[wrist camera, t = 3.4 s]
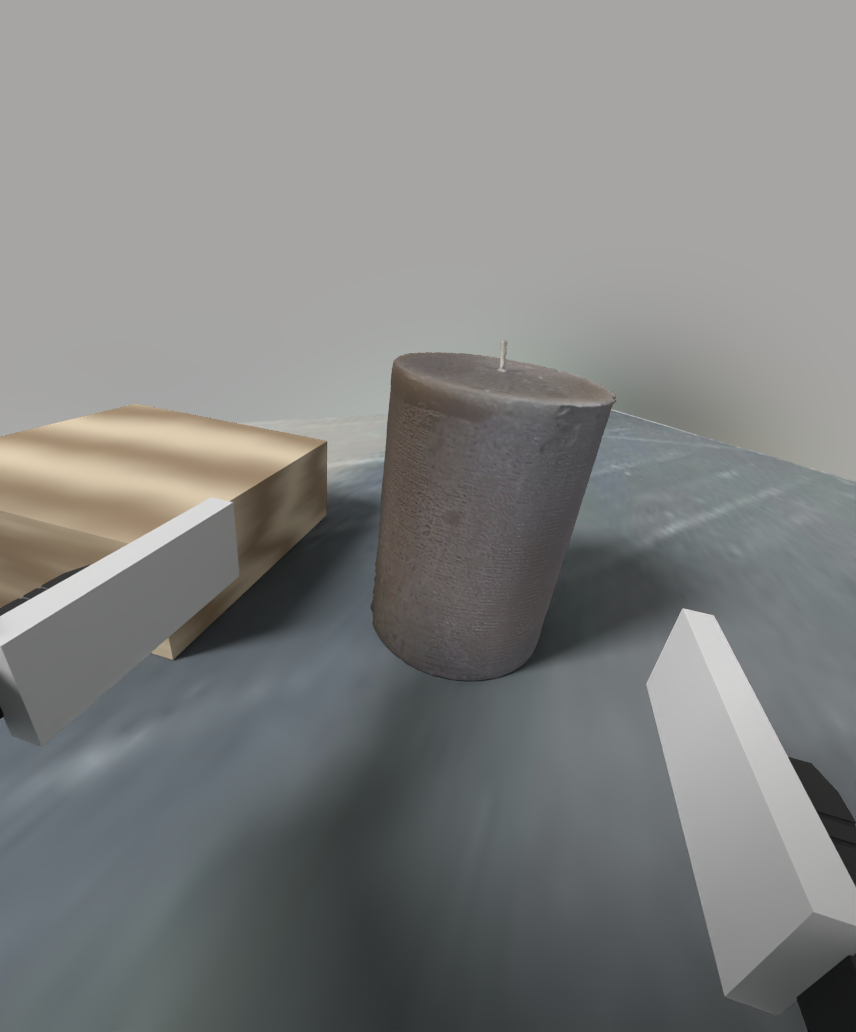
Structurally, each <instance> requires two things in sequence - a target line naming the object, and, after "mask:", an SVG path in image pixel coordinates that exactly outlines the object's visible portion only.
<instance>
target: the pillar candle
mask: <svg viewBox="0 0 856 1032" xmlns="http://www.w3.org/2000/svg"><path fill="white" fill-rule="evenodd" d="M506 346H507V340H502V341H501V348H500V349H501V354H500V358H495V357H489V356H481V355H472V354H462V353H460V354H456V353H428V352H427V353H410V354H405V355H403V356H399V357H398V358H397V359H395V360H394V363H393V368H392V375H391V393H390V403H389V412H388V422H387V439H386V451H385V462H384V474H383V484H382V493H381V520H380V524H379V525H380V531H379V543H378V550H377V558H376V570H375V571H376V576H375V586H374V590H373V593H374V597H373V602H372V604H371V609H372V612H373V626H374V629H375V630H376V632H377V634H378V636H379V638H380V639H381V641H382V642H383V643H384V644H385V646H386V647H387V648H388V649H389V650H390V651H391V652H392V653H393V654H395V655H396V656H398V657H399V658H401V659H402V660H403V661H404V662H405V663H407V664H408V665H410V666H412V667H414V668H416V669H418V670H420V671H422V672H426V673H428V674H431V675H433V676H439V677H444V678H447V679H452V680H463V681H477V680H486V679H491V678H498V677H500V676H503V675H505V674H508V673H511V672H513V671H514V670H516V669H518V668H520V667H521V666H522V665H523V664H525V662H527V660H528V659H529V658H530V657H531V655H532V654H533V652H534V650H535V648H536V646H537V643H538V640H539V637H540V633H541V629H542V626H543V622H544V619H545V616H546V614H547V611H548V608H549V605H550V601H551V598H552V595H553V592H554V589H555V586H556V583H557V580H558V577H559V575H560V571H561V567H562V564H563V561H564V557H565V554H566V551H567V548H568V545H569V542H570V539H571V535H572V532H573V529H574V526H575V522H576V519H577V516H578V513H579V509H580V506H581V503H582V499H583V496H584V493H585V490H586V487H587V484H588V481H589V478H590V475H591V471H592V468H593V465H594V462H595V459H596V456H597V452H598V449H599V446H600V442H601V439H602V435H603V433H604V430H605V427H606V424H607V421H608V418H609V414H610V411H611V408H612V405H613V404H614V403H615V402H616V400H615V398H616V395H614V394H613V393H612V392H610V391H609V390H607V389H606V388H605V387H603V386H601V385H599V384H597V383H595V382H592V381H590V380H587V379H586V378H583V377H581V376H578V375H575V374H571V373H567V372H562V371H558V370H555V369H551V368H546V367H542V366H538V365H533V364H528V363H522V362H517V361H512V360H506V359H505V356H506Z"/></svg>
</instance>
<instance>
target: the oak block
mask: <svg viewBox="0 0 856 1032" xmlns="http://www.w3.org/2000/svg"><path fill="white" fill-rule="evenodd" d="M211 497H213V498H217V499H221V500H225V501H230V502H233V506H234V518H235V529H236V541H237V553H238V565H239V577H238V578H236V579H235V580H234V581H233V582H232V583H231V584H230V585H228V586H227V587H226V588H225V589H224V590H223V591H222V592H220V593H219V594H218V595H217V596H216V597H215V598H213V599H212V600H211V601H210V602H209V603H208V604H207V605H205V606H204V607H203V608H202V609H201V610H200V611H198V612H197V613H196V614H195V615H194V616H193V617H192V618H190V619H189V620H188V621H187V622H186V623H185V624H183V625H182V626H181V627H180V628H179V629H178V630H177V631H175V632H174V633H173V634H172V635H171V636H170V637H168V638H167V639H166V640H165V641H164V642H163V643H162V644H160V645H159V646H158V647H157V648H156V649H155V650H153V651H152V652H151V653H152V654H155V655H159V656H162V657H165V658H168V659H172V660H174V659H175V658H176V657H177V656H178V655H179V654H180V653H181V652H182V651H183V650H184V649H185V648H186V647H187V646H188V645H189V644H191V643H192V642H193V641H194V640H195V639H196V638H197V637H198V636H199V635H200V634H201V633H202V632H203V631H204V630H205V629H206V628H207V627H209V626H210V625H211V624H212V623H213V622H214V621H215V620H216V619H217V618H218V617H219V616H220V615H221V614H222V613H223V612H224V611H226V610H227V609H228V608H229V607H230V606H231V605H232V604H233V603H234V602H235V601H236V600H237V599H238V598H239V597H240V596H241V595H242V594H244V593H245V592H246V591H247V590H248V589H249V588H250V587H251V586H252V585H253V584H254V583H255V582H256V581H257V580H258V579H259V578H261V577H262V576H263V575H264V574H265V573H266V572H267V571H268V570H269V569H270V568H271V567H272V566H273V565H274V564H275V563H276V562H277V561H279V560H280V559H281V558H282V557H283V556H284V555H285V554H286V553H287V552H288V551H289V550H290V549H291V548H292V547H293V546H294V545H296V544H297V543H298V542H299V541H300V540H301V539H302V538H303V537H304V536H305V535H306V534H307V533H308V532H309V531H310V530H311V529H312V528H314V527H315V526H316V525H317V524H318V523H319V522H320V521H321V520H322V519H323V518H324V517H325V516H326V507H327V441H324V440H319V439H314V438H309V437H304V436H299V435H294V434H289V433H283V432H278V431H273V430H268V429H263V428H258V427H253V426H248V425H242V424H237V423H232V422H227V421H222V420H217V419H212V418H207V417H201V416H196V415H191V414H186V413H180V412H175V411H170V410H165V409H160V408H155V407H150V406H145V405H140V404H133V405H129V406H125V407H121V408H116V409H112V410H108V411H104V412H100V413H96V414H92V415H88V416H83V417H79V418H75V419H71V420H67V421H63V422H59V423H55V424H51V425H46V426H42V427H38V428H34V429H30V430H26V431H22V432H18V433H14V434H9V435H5V436H1V437H0V608H1V607H3V606H5V605H7V604H8V603H10V602H12V601H14V600H16V599H18V598H20V599H22V598H23V595H25V594H27V593H29V592H30V591H32V590H34V589H36V588H41V585H43V584H45V583H47V582H49V581H50V580H52V579H54V578H56V577H58V576H59V575H61V574H63V573H66V572H69V571H72V570H75V569H78V568H81V567H84V566H87V565H92V564H94V563H95V562H97V561H99V560H101V559H103V558H104V557H106V556H108V555H110V554H111V553H113V552H115V551H117V550H119V549H120V548H122V547H124V546H126V545H127V544H129V543H131V542H133V541H134V540H136V539H138V538H140V537H142V536H143V535H145V534H147V533H149V532H150V531H152V530H154V529H156V528H158V527H159V526H161V525H163V524H165V523H166V522H168V521H170V520H172V519H173V518H175V517H177V516H179V515H181V514H182V513H184V512H186V511H188V510H189V509H191V508H193V507H195V506H197V505H198V504H200V503H202V502H204V501H205V500H207V499H209V498H211Z"/></svg>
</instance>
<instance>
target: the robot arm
mask: <svg viewBox="0 0 856 1032" xmlns="http://www.w3.org/2000/svg"><path fill="white" fill-rule="evenodd" d="M238 577H239V565H238V553H237V541H236V529H235V518H234V506H233V502H230V501H225V500H221V499H217V498H213V497H211V498H209V499H207V500H205V501H204V502H202V503H200V504H198V505H197V506H195V507H193V508H191V509H189V510H188V511H186V512H184V513H182V514H181V515H179V516H177V517H175V518H173V519H172V520H170V521H168V522H166V523H165V524H163V525H161V526H159V527H158V528H156V529H154V530H152V531H150V532H149V533H147V534H145V535H143V536H142V537H140V538H138V539H136V540H134V541H133V542H131V543H129V544H127V545H126V546H124V547H122V548H120V549H119V550H117V551H115V552H113V553H111V554H110V555H108V556H106V557H104V558H103V559H101V560H99V561H97V562H95V563H94V564H92V565H87V566H84V567H81V568H78V569H75V570H72V571H69V572H66V573H63V574H61V575H59V576H58V577H56V578H54V579H52V580H50V581H49V582H47V583H45V584H43V585H41V588H36V589H34V590H32V591H30V592H29V593H27V594H25V595H23V598H22V599H20V598H18V599H16V600H14V601H12V602H10V603H8V604H7V605H5V606H3V607H1V608H0V718H2V717H4V719H5V721H6V724H7V726H8V728H9V730H10V733H11V735H12V736H13V737H16V738H19V739H22V740H24V741H27V742H30V743H32V744H35V745H38V746H41V747H43V746H44V745H45V744H46V743H47V742H49V741H50V740H51V739H52V738H53V737H54V736H55V735H57V734H58V733H59V732H60V731H61V730H62V729H64V728H65V727H66V726H67V725H68V724H69V723H70V722H72V721H73V720H74V719H75V718H76V717H77V716H79V715H80V714H81V713H82V712H83V711H84V710H85V709H87V708H88V707H89V706H90V705H91V704H92V703H94V702H95V701H96V700H97V699H98V698H99V697H100V696H102V695H103V694H104V693H105V692H106V691H107V690H108V689H110V688H111V687H112V686H113V685H114V684H115V683H117V682H118V681H119V680H120V679H121V678H122V677H123V676H125V675H126V674H127V673H128V672H129V671H130V670H132V669H133V668H134V667H135V666H136V665H137V664H138V663H140V662H141V661H142V660H143V659H144V658H145V657H147V656H148V655H149V654H150V653H151V652H152V651H153V650H155V649H156V648H157V647H158V646H159V645H160V644H162V643H163V642H164V641H165V640H166V639H167V638H168V637H170V636H171V635H172V634H173V633H174V632H175V631H177V630H178V629H179V628H180V627H181V626H182V625H183V624H185V623H186V622H187V621H188V620H189V619H190V618H192V617H193V616H194V615H195V614H196V613H197V612H198V611H200V610H201V609H202V608H203V607H204V606H205V605H207V604H208V603H209V602H210V601H211V600H212V599H213V598H215V597H216V596H217V595H218V594H219V593H220V592H222V591H223V590H224V589H225V588H226V587H227V586H228V585H230V584H231V583H232V582H233V581H234V580H235V579H236V578H238ZM647 688H648V692H649V696H650V700H651V704H652V708H653V712H654V716H655V720H656V724H657V728H658V732H659V736H660V740H661V744H662V748H663V752H664V756H665V760H666V764H667V768H668V772H669V776H670V780H671V784H672V788H673V792H674V796H675V800H676V804H677V808H678V812H679V816H680V820H681V824H682V828H683V832H684V836H685V840H686V844H687V848H688V852H689V856H690V860H691V864H692V868H693V872H694V876H695V880H696V884H697V888H698V892H699V896H700V900H701V904H702V908H703V912H704V916H705V920H706V924H707V928H708V932H709V936H710V940H711V944H712V948H713V952H714V956H715V960H716V964H717V968H718V972H719V976H720V980H721V984H722V988H723V992H724V996H725V997H726V998H729V999H732V1000H735V1001H737V1002H740V1003H743V1004H745V1005H748V1006H751V1007H754V1008H756V1009H759V1010H762V1011H765V1012H767V1013H770V1014H773V1015H776V1016H779V1015H780V1014H781V1013H782V1012H784V1011H785V1010H786V1009H787V1008H789V1007H790V1006H791V1005H792V1004H794V1003H795V1002H796V1001H798V1004H799V1007H800V1010H801V1012H802V1015H803V1018H804V1021H805V1024H806V1027H807V1029H808V1032H856V826H855V824H856V822H855V820H854V818H853V817H852V815H851V813H850V812H849V810H848V808H847V806H846V805H845V803H844V801H843V800H842V798H841V796H840V795H839V793H838V792H837V790H836V789H835V788H834V787H833V786H832V785H831V784H830V783H829V782H828V781H827V780H826V779H825V778H824V777H823V775H822V774H821V773H820V772H819V771H818V770H817V769H816V768H815V767H814V766H813V765H812V764H811V763H808V762H804V761H801V760H797V759H793V758H790V757H788V756H787V754H786V753H785V751H784V749H783V747H782V745H781V743H780V741H779V739H778V737H777V735H776V733H775V732H774V730H773V728H772V726H771V724H770V722H769V720H768V718H767V716H766V714H765V712H764V710H763V709H762V707H761V705H760V703H759V701H758V699H757V697H756V695H755V693H754V691H753V689H752V687H751V686H750V684H749V682H748V680H747V678H746V676H745V674H744V672H743V670H742V668H741V666H740V665H739V663H738V661H737V659H736V657H735V655H734V653H733V651H732V649H731V647H730V645H729V643H728V642H727V640H726V638H725V636H724V634H723V632H722V630H721V628H720V626H719V624H718V622H717V621H716V619H715V617H714V615H709V614H705V613H701V612H697V611H692V610H688V609H684V608H682V610H681V612H680V614H679V617H678V619H677V621H676V623H675V625H674V627H673V629H672V631H671V633H670V635H669V638H668V640H667V642H666V644H665V646H664V648H663V650H662V652H661V654H660V656H659V659H658V661H657V663H656V665H655V667H654V669H653V671H652V673H651V675H650V677H649V680H648V682H647Z"/></svg>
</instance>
